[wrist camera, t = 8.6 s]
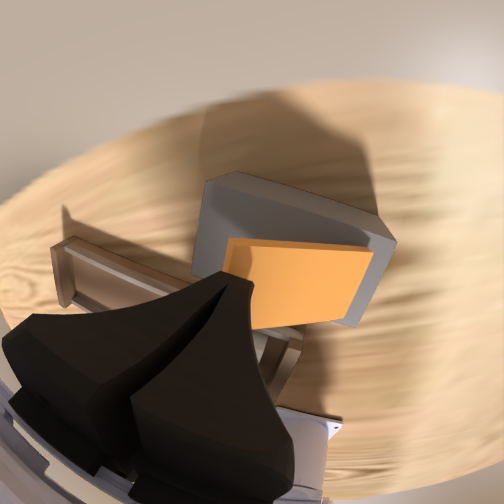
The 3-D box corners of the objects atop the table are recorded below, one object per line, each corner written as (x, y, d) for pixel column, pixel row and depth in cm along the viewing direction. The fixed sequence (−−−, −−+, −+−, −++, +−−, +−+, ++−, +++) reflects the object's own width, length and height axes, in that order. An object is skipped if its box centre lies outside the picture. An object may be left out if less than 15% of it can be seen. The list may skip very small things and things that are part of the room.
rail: (280, 376, 24) (273, 404, 21) (78, 290, 27) (59, 304, 24) (305, 323, 21) (301, 351, 18) (73, 235, 24) (50, 247, 21)
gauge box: (350, 286, 19) (355, 328, 15) (215, 243, 20) (186, 272, 16) (378, 216, 17) (397, 242, 12) (230, 170, 18) (200, 180, 14)
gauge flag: (337, 311, 14) (343, 318, 14) (211, 322, 12) (215, 332, 11) (366, 246, 13) (373, 252, 12) (228, 237, 10) (234, 245, 9)
